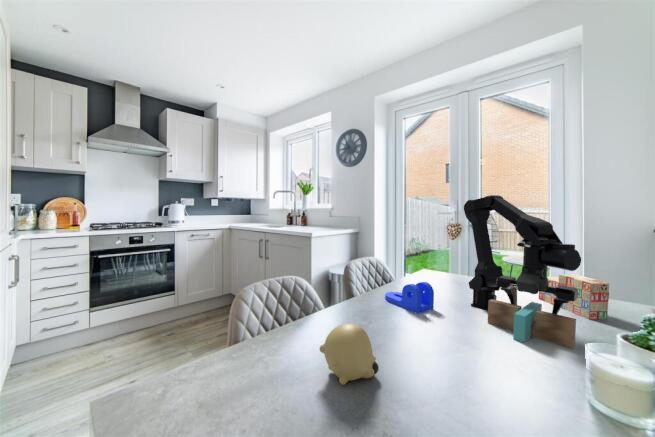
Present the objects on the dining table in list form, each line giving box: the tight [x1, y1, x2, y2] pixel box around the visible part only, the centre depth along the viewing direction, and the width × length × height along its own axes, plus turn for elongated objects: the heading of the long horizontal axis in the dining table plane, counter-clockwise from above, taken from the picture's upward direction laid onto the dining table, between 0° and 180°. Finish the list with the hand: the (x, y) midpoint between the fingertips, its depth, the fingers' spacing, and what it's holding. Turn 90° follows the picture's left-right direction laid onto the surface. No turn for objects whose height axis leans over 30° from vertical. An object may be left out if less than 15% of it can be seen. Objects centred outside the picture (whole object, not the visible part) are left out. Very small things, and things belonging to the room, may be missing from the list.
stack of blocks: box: [538, 273, 610, 321], centre depth 100 cm, size 21×6×12 cm, turn 1°
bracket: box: [384, 281, 435, 314], centre depth 103 cm, size 18×8×9 cm, turn 31°
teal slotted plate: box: [512, 301, 543, 343], centre depth 79 cm, size 16×2×7 cm, turn 130°
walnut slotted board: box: [487, 299, 577, 349], centre depth 79 cm, size 20×2×7 cm, turn 40°
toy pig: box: [319, 323, 380, 386], centre depth 57 cm, size 10×12×11 cm
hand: (533, 316), depth 82 cm, fingers open, 9 cm apart
